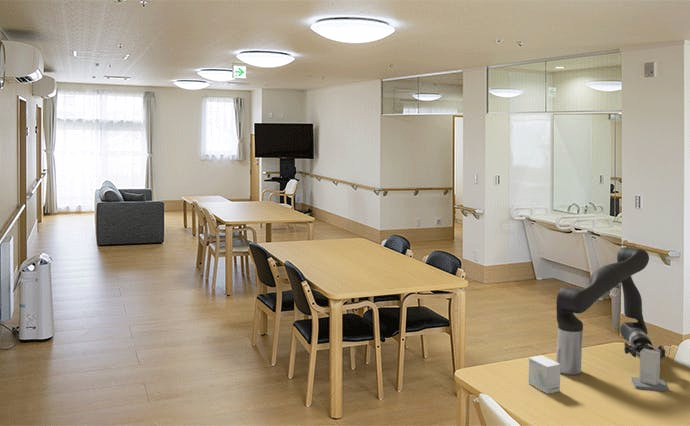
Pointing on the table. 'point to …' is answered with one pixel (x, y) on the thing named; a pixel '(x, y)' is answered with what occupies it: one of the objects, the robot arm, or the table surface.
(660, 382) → the mat
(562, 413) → the table surface
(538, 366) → the skincare box
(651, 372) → the skincare box
